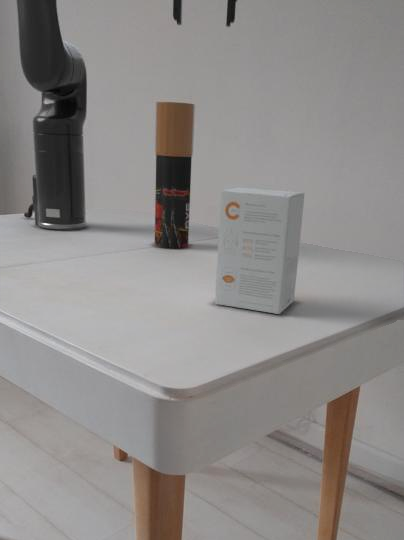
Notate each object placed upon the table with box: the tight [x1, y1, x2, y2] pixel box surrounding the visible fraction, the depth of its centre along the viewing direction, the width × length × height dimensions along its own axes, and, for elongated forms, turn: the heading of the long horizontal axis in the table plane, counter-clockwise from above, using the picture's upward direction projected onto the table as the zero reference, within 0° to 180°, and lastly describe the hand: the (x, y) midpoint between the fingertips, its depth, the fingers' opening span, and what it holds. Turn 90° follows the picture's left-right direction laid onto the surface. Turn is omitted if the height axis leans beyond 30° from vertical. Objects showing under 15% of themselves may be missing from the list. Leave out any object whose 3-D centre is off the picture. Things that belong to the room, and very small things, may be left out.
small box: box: [214, 187, 305, 315], centre depth 65 cm, size 8×6×13 cm
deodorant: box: [154, 155, 193, 250], centre depth 97 cm, size 6×6×15 cm
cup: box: [154, 101, 196, 158], centre depth 93 cm, size 6×6×8 cm
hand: (203, 25), depth 97 cm, fingers open, 8 cm apart
